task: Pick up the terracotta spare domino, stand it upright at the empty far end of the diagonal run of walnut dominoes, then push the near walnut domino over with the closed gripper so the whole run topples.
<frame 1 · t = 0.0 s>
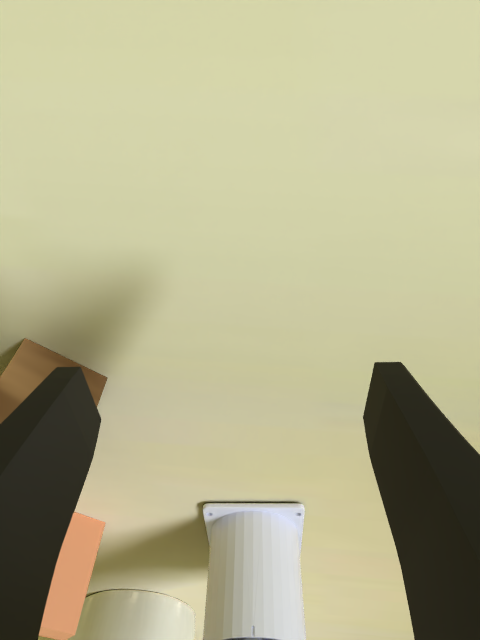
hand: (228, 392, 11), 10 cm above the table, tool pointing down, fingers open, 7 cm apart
spare domino: (73, 517, 36), on the table
domino 4: (60, 368, 25), on the table
utensil holder: (139, 608, 50), on the table
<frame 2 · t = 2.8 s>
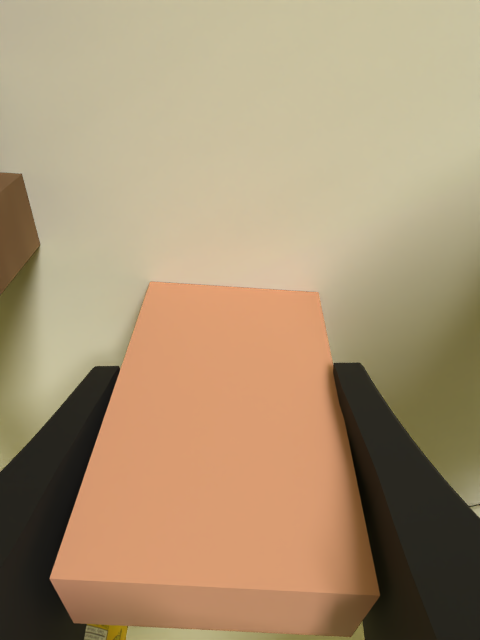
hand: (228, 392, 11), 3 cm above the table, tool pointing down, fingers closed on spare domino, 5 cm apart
spare domino: (232, 313, 13), on the table, touching gripper
supplement bottle: (95, 547, 24), on the table
when the fingers open (4 cm above the table, at t = 8.5 s): spare domino stays where it is, on the table.
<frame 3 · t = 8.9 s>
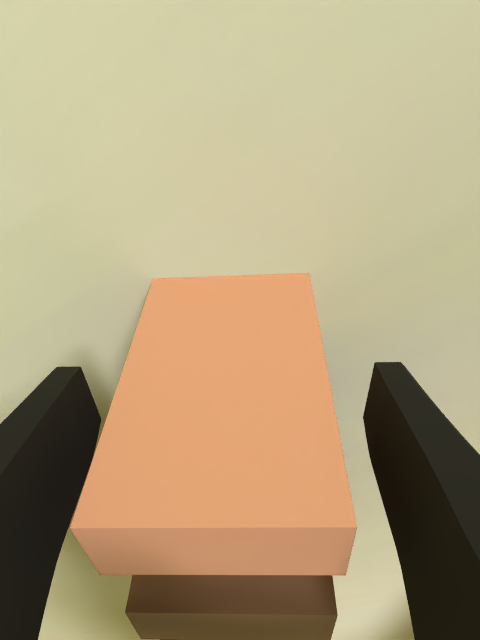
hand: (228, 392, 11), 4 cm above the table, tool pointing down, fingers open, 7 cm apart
spare domino: (232, 301, 14), on the table
domino 4: (240, 387, 17), on the table
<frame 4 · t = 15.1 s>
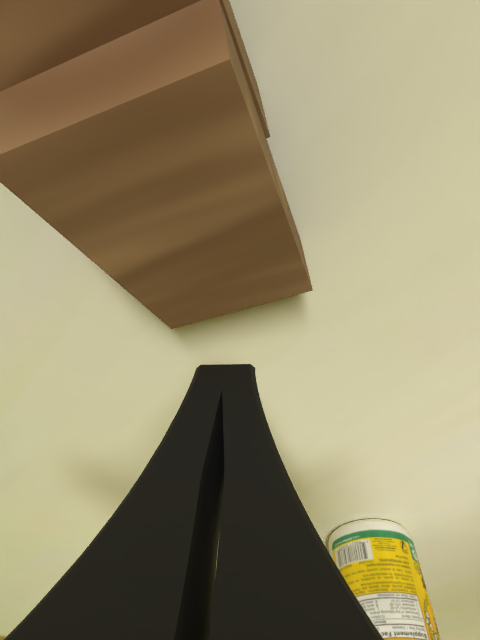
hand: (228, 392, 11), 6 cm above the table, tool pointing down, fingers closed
supplement bottle: (367, 533, 28), on the table
domino 1: (235, 285, 15), point 1 cm above the table, tilted 65°, touching domino 2
domino 2: (178, 144, 12), point 1 cm above the table, tilted 63°, touching domino 1, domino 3
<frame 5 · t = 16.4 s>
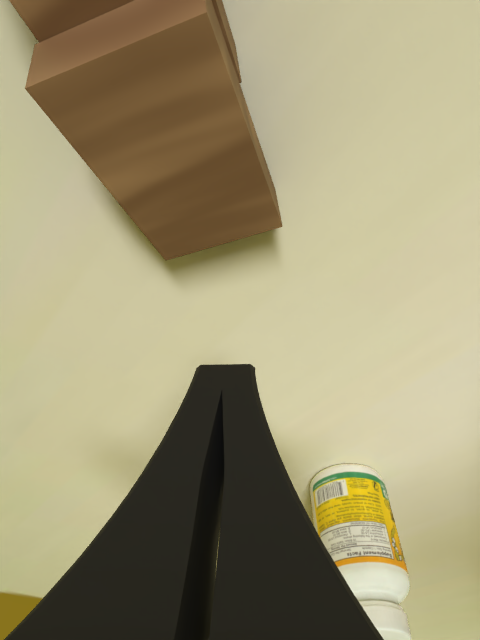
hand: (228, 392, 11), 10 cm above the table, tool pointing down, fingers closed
supplement bottle: (345, 479, 31), on the table
domino 1: (220, 225, 18), point 1 cm above the table, tilted 66°, touching domino 2
domino 2: (168, 88, 15), point 1 cm above the table, tilted 65°, touching domino 1, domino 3
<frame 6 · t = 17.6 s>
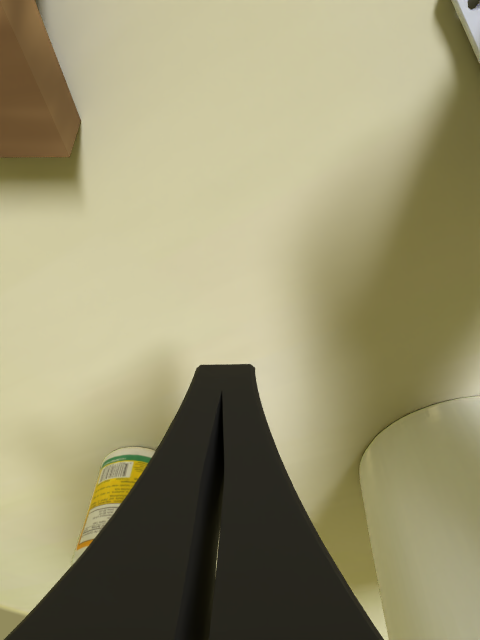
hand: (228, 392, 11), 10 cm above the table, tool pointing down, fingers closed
supplement bottle: (141, 464, 31), on the table
domino 1: (8, 138, 16), point 1 cm above the table, tilted 68°, touching domino 2
utensil holder: (458, 455, 29), on the table
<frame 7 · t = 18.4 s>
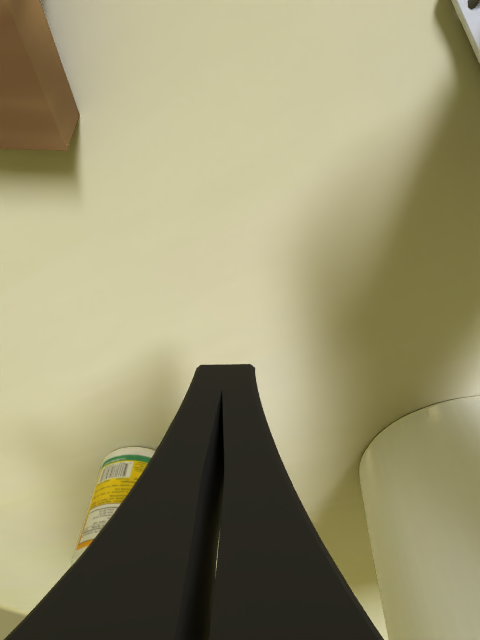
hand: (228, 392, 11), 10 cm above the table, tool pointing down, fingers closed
supplement bottle: (141, 464, 31), on the table
domino 1: (5, 130, 16), point 1 cm above the table, tilted 69°, touching domino 2
utensil holder: (458, 455, 29), on the table
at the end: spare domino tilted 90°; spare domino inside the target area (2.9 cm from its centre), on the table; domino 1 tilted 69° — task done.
